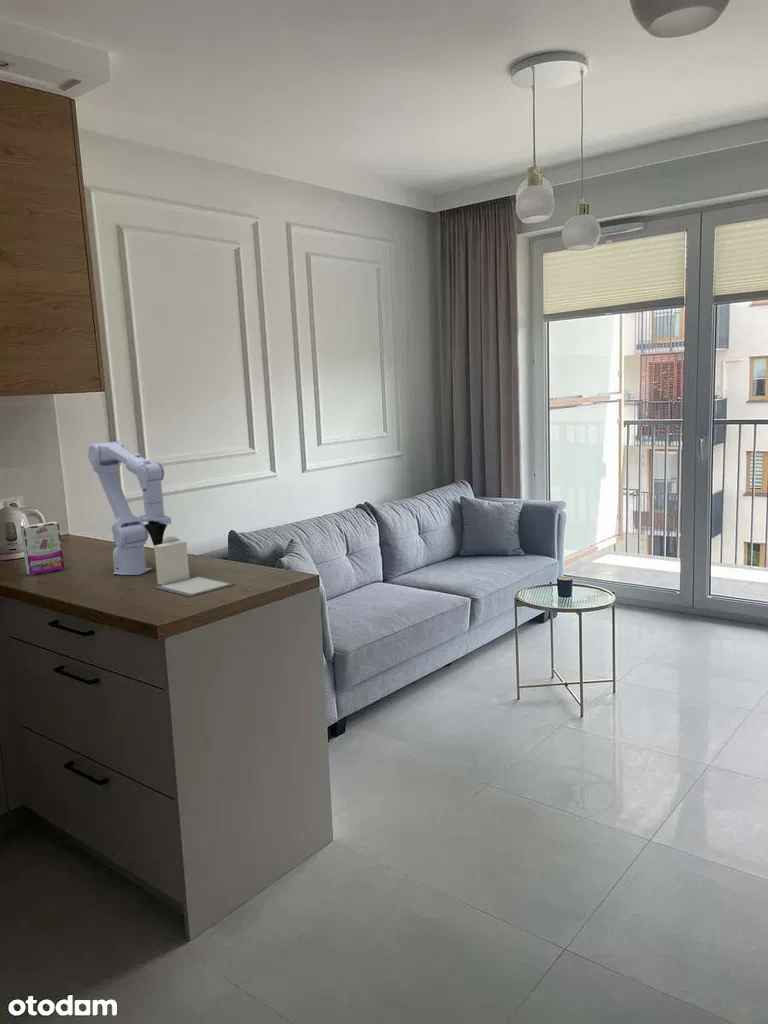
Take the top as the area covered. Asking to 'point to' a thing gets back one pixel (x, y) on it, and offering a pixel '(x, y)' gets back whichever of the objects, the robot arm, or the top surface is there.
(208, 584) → the mat
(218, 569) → the top surface
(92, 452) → the robot arm
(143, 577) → the top surface
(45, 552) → the candy bar box
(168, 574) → the card box
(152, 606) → the top surface
